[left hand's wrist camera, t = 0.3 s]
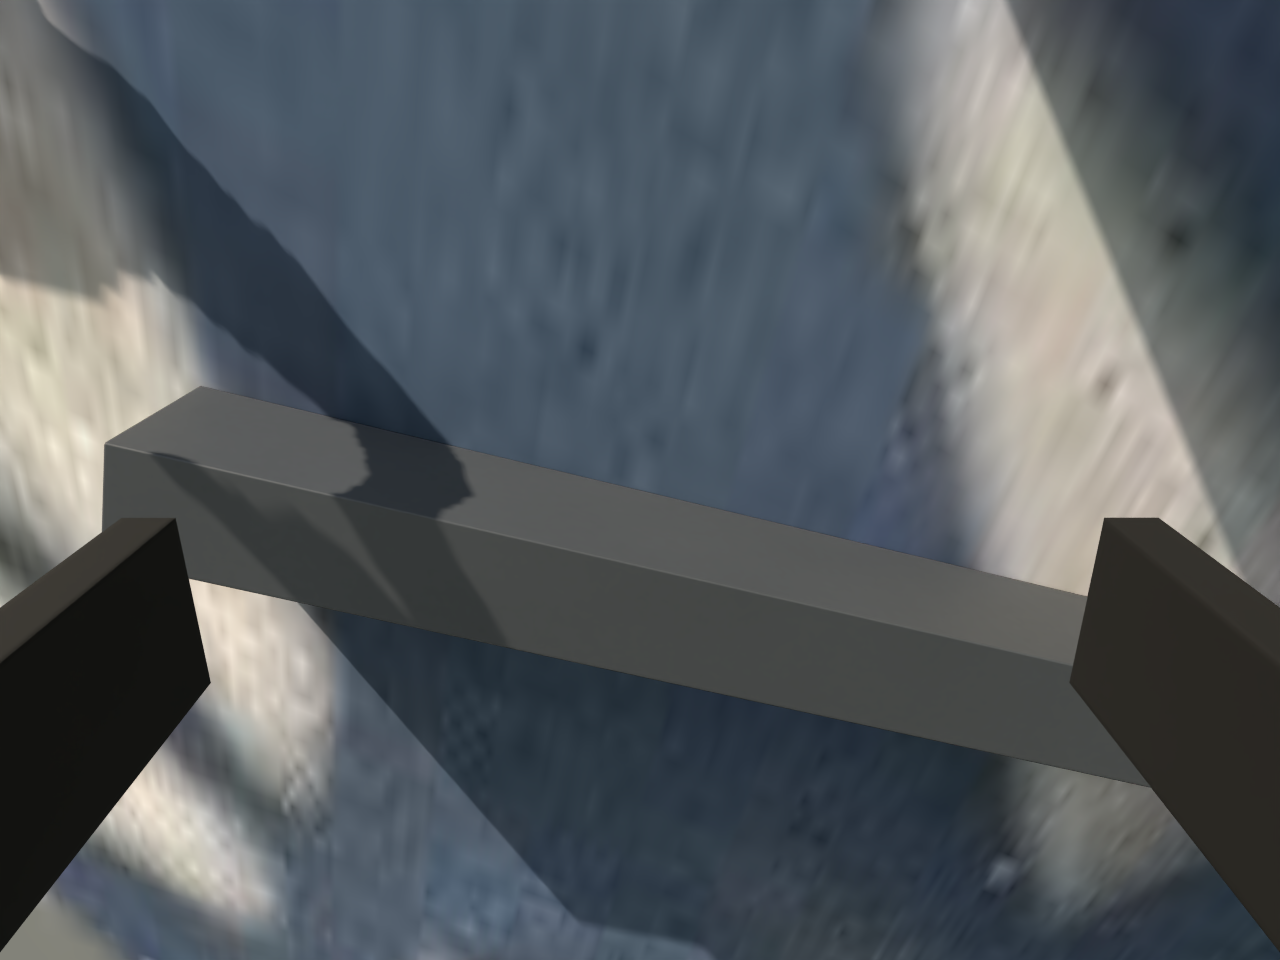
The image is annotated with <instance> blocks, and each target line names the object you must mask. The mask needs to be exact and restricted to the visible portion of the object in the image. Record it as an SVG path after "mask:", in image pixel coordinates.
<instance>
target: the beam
mask: <svg viewBox="0 0 1280 960" xmlns="http://www.w3.org/2000/svg"><path fill="white" fill-rule="evenodd" d="M121 518H176V522H177V526H178V531H179V536H180V541H181V545H182V550H183V555H184V559H185V564H186V569H187V573H188V578H189V579H194V580H198V581H203V582H207V583H212V584H217V585H221V586H226V587H230V588H235V589H240V590H244V591H249V592H253V593H258V594H263V595H267V596H272V597H276V598H281V599H286V600H290V601H295V602H299V603H304V604H309V605H313V606H318V607H322V608H327V609H332V610H336V611H341V612H345V613H350V614H355V615H359V616H364V617H368V618H373V619H378V620H382V621H387V622H391V623H396V624H401V625H405V626H410V627H414V628H419V629H424V630H428V631H433V632H437V633H442V634H447V635H451V636H456V637H460V638H465V639H470V640H474V641H479V642H483V643H488V644H493V645H497V646H502V647H506V648H511V649H516V650H520V651H525V652H529V653H534V654H539V655H543V656H548V657H552V658H557V659H562V660H566V661H571V662H575V663H580V664H585V665H589V666H594V667H598V668H603V669H608V670H612V671H617V672H621V673H626V674H631V675H635V676H640V677H644V678H649V679H654V680H658V681H663V682H668V683H672V684H677V685H681V686H686V687H691V688H695V689H700V690H704V691H709V692H714V693H718V694H723V695H727V696H732V697H737V698H741V699H746V700H750V701H755V702H760V703H764V704H769V705H773V706H778V707H783V708H787V709H792V710H796V711H801V712H806V713H810V714H815V715H819V716H824V717H829V718H833V719H838V720H842V721H847V722H852V723H856V724H861V725H865V726H870V727H875V728H879V729H884V730H888V731H893V732H898V733H902V734H907V735H911V736H916V737H921V738H925V739H930V740H934V741H939V742H944V743H948V744H953V745H957V746H962V747H967V748H971V749H976V750H980V751H985V752H990V753H994V754H999V755H1003V756H1008V757H1013V758H1017V759H1022V760H1026V761H1031V762H1036V763H1040V764H1045V765H1049V766H1054V767H1059V768H1063V769H1068V770H1072V771H1077V772H1082V773H1086V774H1091V775H1095V776H1100V777H1105V778H1109V779H1114V780H1118V781H1123V782H1128V783H1132V784H1137V785H1141V786H1146V787H1150V785H1149V784H1148V783H1147V782H1146V780H1145V779H1144V778H1143V776H1142V775H1141V774H1140V773H1139V771H1138V770H1137V769H1136V767H1135V766H1134V765H1133V764H1132V762H1131V761H1130V760H1129V759H1128V757H1127V756H1126V755H1125V753H1124V752H1123V751H1122V750H1121V748H1120V747H1119V746H1118V744H1117V743H1116V742H1115V741H1114V739H1113V738H1112V737H1111V735H1110V734H1109V733H1108V732H1107V730H1106V729H1105V728H1104V727H1103V725H1102V724H1101V723H1100V721H1099V720H1098V719H1097V718H1096V716H1095V715H1094V714H1093V712H1092V711H1091V710H1090V709H1089V707H1088V706H1087V705H1086V703H1085V702H1084V701H1083V700H1082V698H1081V697H1080V696H1079V695H1078V693H1077V692H1076V691H1075V689H1074V688H1073V687H1072V686H1071V684H1070V683H1069V682H1070V677H1071V672H1072V668H1073V663H1074V658H1075V653H1076V649H1077V644H1078V639H1079V635H1080V630H1081V625H1082V620H1083V616H1084V611H1085V606H1086V602H1087V597H1086V596H1082V595H1078V594H1074V593H1069V592H1065V591H1061V590H1057V589H1053V588H1048V587H1044V586H1040V585H1036V584H1032V583H1027V582H1023V581H1019V580H1015V579H1011V578H1006V577H1002V576H998V575H994V574H989V573H985V572H981V571H977V570H973V569H968V568H964V567H960V566H956V565H952V564H947V563H943V562H939V561H935V560H931V559H926V558H922V557H918V556H914V555H909V554H905V553H901V552H897V551H893V550H888V549H884V548H880V547H876V546H872V545H867V544H863V543H859V542H855V541H851V540H846V539H842V538H838V537H834V536H829V535H825V534H821V533H817V532H813V531H808V530H804V529H800V528H796V527H792V526H787V525H783V524H779V523H775V522H771V521H766V520H762V519H758V518H754V517H749V516H745V515H741V514H737V513H733V512H728V511H724V510H720V509H716V508H712V507H707V506H703V505H699V504H695V503H691V502H686V501H682V500H678V499H674V498H669V497H665V496H661V495H657V494H653V493H648V492H644V491H640V490H636V489H632V488H627V487H623V486H619V485H615V484H611V483H606V482H602V481H598V480H594V479H589V478H585V477H581V476H577V475H573V474H568V473H564V472H560V471H556V470H552V469H547V468H543V467H539V466H535V465H531V464H526V463H522V462H518V461H514V460H509V459H505V458H501V457H497V456H493V455H488V454H484V453H480V452H476V451H472V450H467V449H463V448H459V447H455V446H451V445H446V444H442V443H438V442H434V441H429V440H425V439H421V438H417V437H413V436H408V435H404V434H400V433H396V432H392V431H387V430H383V429H379V428H375V427H371V426H366V425H362V424H358V423H354V422H349V421H345V420H341V419H337V418H333V417H328V416H324V415H320V414H316V413H312V412H307V411H303V410H299V409H295V408H291V407H286V406H282V405H278V404H274V403H269V402H265V401H261V400H257V399H253V398H248V397H244V396H240V395H236V394H232V393H227V392H223V391H219V390H215V389H211V388H206V387H202V386H200V387H198V388H196V389H195V390H193V391H191V392H190V393H188V394H186V395H184V396H183V397H181V398H179V399H178V400H176V401H174V402H173V403H171V404H169V405H168V406H166V407H164V408H163V409H161V410H159V411H158V412H156V413H154V414H153V415H151V416H149V417H148V418H146V419H144V420H143V421H141V422H139V423H138V424H136V425H134V426H133V427H131V428H129V429H127V430H126V431H124V432H122V433H121V434H119V435H117V436H116V437H114V438H112V439H111V440H109V441H107V442H106V443H105V445H104V477H103V513H102V532H103V531H104V530H106V529H107V528H108V527H110V526H111V525H113V524H114V523H115V522H117V521H118V520H119V519H121Z"/></svg>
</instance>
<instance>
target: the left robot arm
mask: <svg viewBox="0 0 1280 960" xmlns="http://www.w3.org/2000/svg"><path fill="white" fill-rule="evenodd" d="M210 683H211V682H210V677H209V672H208V668H207V663H206V658H205V653H204V649H203V644H202V639H201V635H200V630H199V625H198V620H197V616H196V611H195V606H194V602H193V597H192V592H191V588H190V583H189V578H188V573H187V569H186V564H185V559H184V555H183V550H182V545H181V541H180V536H179V531H178V526H177V522H176V518H121V519H119V520H118V521H117V522H115V523H114V524H113V525H111V526H110V527H108V528H107V529H106V530H104V531H103V532H102V533H100V534H99V535H98V536H96V537H95V538H94V539H92V540H91V541H90V542H88V543H87V544H86V545H84V546H83V547H82V548H80V549H79V550H77V551H76V552H75V553H73V554H72V555H71V556H69V557H68V558H67V559H65V560H64V561H63V562H61V563H60V564H59V565H57V566H56V567H55V568H53V569H52V570H50V571H49V572H48V573H46V574H45V575H44V576H42V577H41V578H40V579H38V580H37V581H36V582H34V583H33V584H32V585H30V586H29V587H28V588H26V589H25V590H24V591H22V592H21V593H19V594H18V595H17V596H15V597H14V598H13V599H11V600H10V601H9V602H7V603H6V604H5V605H3V606H2V607H1V608H0V952H1V950H2V949H3V948H4V947H5V945H6V944H7V943H8V942H9V940H10V939H11V938H12V936H13V935H14V934H15V933H16V931H17V930H18V929H19V927H20V926H21V925H22V924H23V922H24V921H25V920H26V918H27V917H28V916H29V915H30V913H31V912H32V911H33V910H34V908H35V907H36V906H37V904H38V903H39V902H40V901H41V899H42V898H43V897H44V895H45V894H46V893H47V892H48V890H49V889H50V888H51V887H52V885H53V884H54V883H55V881H56V880H57V879H58V878H59V876H60V875H61V874H62V872H63V871H64V870H65V869H66V867H67V866H68V865H69V863H70V862H71V861H72V860H73V858H74V857H75V856H76V855H77V853H78V852H79V851H80V849H81V848H82V847H83V846H84V844H85V843H86V842H87V840H88V839H89V838H90V837H91V835H92V834H93V833H94V831H95V830H96V829H97V828H98V826H99V825H100V824H101V823H102V821H103V820H104V819H105V817H106V816H107V815H108V814H109V812H110V811H111V810H112V808H113V807H114V806H115V805H116V803H117V802H118V801H119V799H120V798H121V797H122V796H123V794H124V793H125V792H126V791H127V789H128V788H129V787H130V785H131V784H132V783H133V782H134V780H135V779H136V778H137V776H138V775H139V774H140V773H141V771H142V770H143V769H144V767H145V766H146V765H147V764H148V762H149V761H150V760H151V759H152V757H153V756H154V755H155V753H156V752H157V751H158V750H159V748H160V747H161V746H162V744H163V743H164V742H165V741H166V739H167V738H168V737H169V735H170V734H171V733H172V732H173V730H174V729H175V728H176V727H177V725H178V724H179V723H180V721H181V720H182V719H183V718H184V716H185V715H186V714H187V712H188V711H189V710H190V709H191V707H192V706H193V705H194V703H195V702H196V701H197V700H198V698H199V697H200V696H201V695H202V693H203V692H204V691H205V689H206V688H207V687H208V686H209V684H210ZM1069 683H1070V684H1071V686H1072V687H1073V688H1074V689H1075V691H1076V692H1077V693H1078V695H1079V696H1080V697H1081V698H1082V700H1083V701H1084V702H1085V703H1086V705H1087V706H1088V707H1089V709H1090V710H1091V711H1092V712H1093V714H1094V715H1095V716H1096V718H1097V719H1098V720H1099V721H1100V723H1101V724H1102V725H1103V727H1104V728H1105V729H1106V730H1107V732H1108V733H1109V734H1110V735H1111V737H1112V738H1113V739H1114V741H1115V742H1116V743H1117V744H1118V746H1119V747H1120V748H1121V750H1122V751H1123V752H1124V753H1125V755H1126V756H1127V757H1128V759H1129V760H1130V761H1131V762H1132V764H1133V765H1134V766H1135V767H1136V769H1137V770H1138V771H1139V773H1140V774H1141V775H1142V776H1143V778H1144V779H1145V780H1146V782H1147V783H1148V784H1149V785H1150V787H1151V788H1152V789H1153V791H1154V792H1155V793H1156V794H1157V796H1158V797H1159V798H1160V799H1161V801H1162V802H1163V803H1164V805H1165V806H1166V807H1167V808H1168V810H1169V811H1170V812H1171V814H1172V815H1173V816H1174V817H1175V819H1176V820H1177V821H1178V823H1179V824H1180V825H1181V826H1182V828H1183V829H1184V830H1185V831H1186V833H1187V834H1188V835H1189V837H1190V838H1191V839H1192V840H1193V842H1194V843H1195V844H1196V846H1197V847H1198V848H1199V849H1200V851H1201V852H1202V853H1203V855H1204V856H1205V857H1206V858H1207V860H1208V861H1209V862H1210V863H1211V865H1212V866H1213V867H1214V869H1215V870H1216V871H1217V872H1218V874H1219V875H1220V876H1221V878H1222V879H1223V880H1224V881H1225V883H1226V884H1227V885H1228V887H1229V888H1230V889H1231V890H1232V892H1233V893H1234V894H1235V895H1236V897H1237V898H1238V899H1239V901H1240V902H1241V903H1242V904H1243V906H1244V907H1245V908H1246V910H1247V911H1248V912H1249V913H1250V915H1251V916H1252V917H1253V918H1254V920H1255V921H1256V922H1257V924H1258V925H1259V926H1260V927H1261V929H1262V930H1263V931H1264V933H1265V934H1266V935H1267V936H1268V938H1269V939H1270V940H1271V942H1272V943H1273V944H1274V945H1275V947H1276V948H1277V949H1278V950H1279V952H1280V608H1279V607H1278V606H1277V605H1275V604H1274V603H1273V602H1271V601H1270V600H1269V599H1267V598H1266V597H1265V596H1263V595H1262V594H1261V593H1259V592H1258V591H1256V590H1255V589H1254V588H1252V587H1251V586H1250V585H1248V584H1247V583H1246V582H1244V581H1243V580H1242V579H1240V578H1239V577H1238V576H1236V575H1235V574H1234V573H1232V572H1231V571H1230V570H1228V569H1227V568H1225V567H1224V566H1223V565H1221V564H1220V563H1219V562H1217V561H1216V560H1215V559H1213V558H1212V557H1211V556H1209V555H1208V554H1207V553H1205V552H1204V551H1203V550H1201V549H1200V548H1198V547H1197V546H1196V545H1194V544H1193V543H1192V542H1190V541H1189V540H1188V539H1186V538H1185V537H1184V536H1182V535H1181V534H1180V533H1178V532H1177V531H1176V530H1174V529H1173V528H1172V527H1170V526H1169V525H1167V524H1166V523H1165V522H1163V521H1162V520H1161V519H1159V518H1104V522H1103V526H1102V531H1101V536H1100V541H1099V545H1098V550H1097V555H1096V559H1095V564H1094V569H1093V573H1092V578H1091V583H1090V588H1089V592H1088V597H1087V602H1086V606H1085V611H1084V616H1083V620H1082V625H1081V630H1080V635H1079V639H1078V644H1077V649H1076V653H1075V658H1074V663H1073V668H1072V672H1071V677H1070V682H1069Z"/></svg>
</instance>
